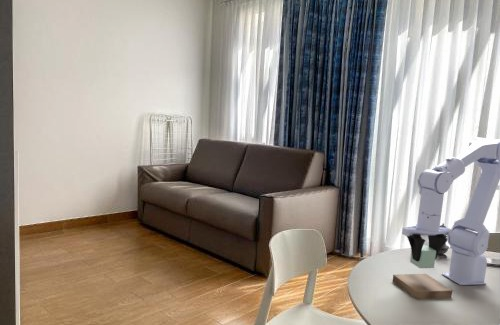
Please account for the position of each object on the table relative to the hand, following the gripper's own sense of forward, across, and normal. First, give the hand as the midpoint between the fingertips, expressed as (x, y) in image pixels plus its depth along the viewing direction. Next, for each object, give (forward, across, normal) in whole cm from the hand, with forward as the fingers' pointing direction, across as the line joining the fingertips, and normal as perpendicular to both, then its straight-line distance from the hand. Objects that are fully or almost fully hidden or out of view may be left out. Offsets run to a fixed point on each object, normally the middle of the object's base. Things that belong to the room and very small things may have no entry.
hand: (423, 259), depth 109 cm
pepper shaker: (+9, -18, -24) cm, 31 cm away
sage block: (+2, 0, 0) cm, 2 cm away
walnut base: (+8, 0, 0) cm, 8 cm away
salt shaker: (+9, -26, -25) cm, 37 cm away
